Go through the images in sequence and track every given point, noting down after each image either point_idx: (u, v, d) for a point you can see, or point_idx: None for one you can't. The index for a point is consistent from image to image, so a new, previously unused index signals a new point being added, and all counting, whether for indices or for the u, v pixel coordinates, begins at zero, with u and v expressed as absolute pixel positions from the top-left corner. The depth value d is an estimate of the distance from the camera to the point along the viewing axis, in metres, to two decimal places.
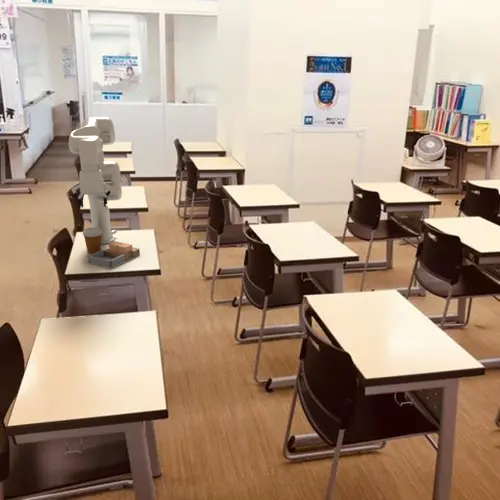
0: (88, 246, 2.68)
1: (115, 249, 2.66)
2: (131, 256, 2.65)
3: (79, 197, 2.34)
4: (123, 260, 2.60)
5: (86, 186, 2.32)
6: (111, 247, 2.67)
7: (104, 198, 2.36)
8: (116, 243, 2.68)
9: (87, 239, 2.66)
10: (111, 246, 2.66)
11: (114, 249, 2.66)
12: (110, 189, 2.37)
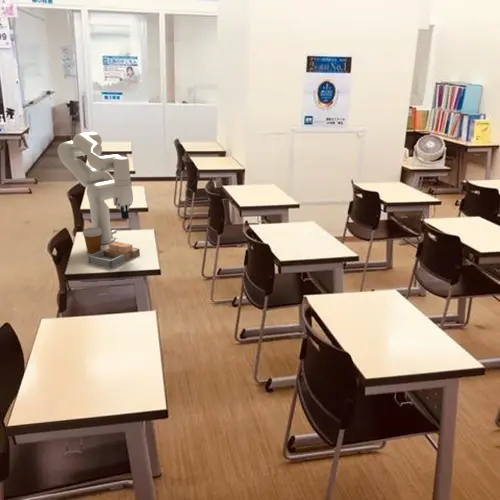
0: (88, 246, 2.68)
1: (115, 249, 2.66)
2: (131, 256, 2.65)
3: (124, 210, 2.68)
4: (123, 260, 2.60)
5: (124, 198, 2.64)
6: (111, 247, 2.67)
7: (127, 211, 2.69)
8: (116, 243, 2.68)
9: (87, 239, 2.66)
10: (111, 246, 2.66)
11: (114, 249, 2.66)
12: (130, 204, 2.72)
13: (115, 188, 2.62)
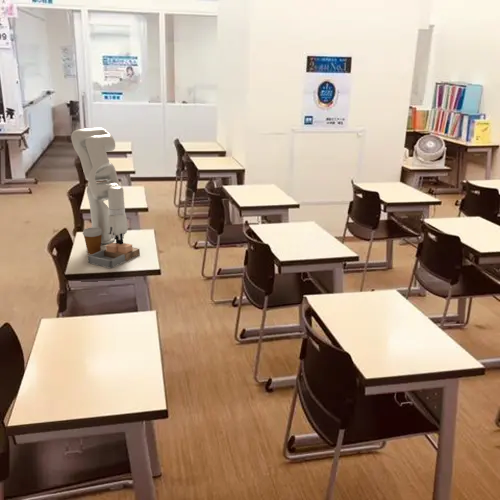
0: (88, 246, 2.68)
1: (112, 250, 2.64)
2: (131, 256, 2.65)
3: (119, 238, 2.67)
4: (123, 260, 2.60)
5: (118, 227, 2.64)
6: (108, 248, 2.65)
7: (122, 239, 2.69)
8: (113, 244, 2.66)
9: (87, 239, 2.66)
10: (108, 247, 2.65)
11: (111, 250, 2.64)
12: (125, 232, 2.72)
13: (110, 217, 2.61)
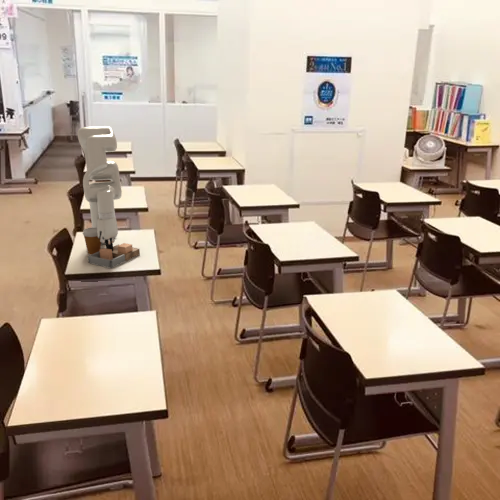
0: (88, 246, 2.68)
1: None
2: (131, 256, 2.65)
3: (109, 243, 2.61)
4: (123, 260, 2.60)
5: (108, 231, 2.58)
6: None
7: (112, 244, 2.63)
8: (104, 255, 2.60)
9: (87, 239, 2.66)
10: None
11: None
12: (115, 236, 2.65)
13: (99, 221, 2.55)
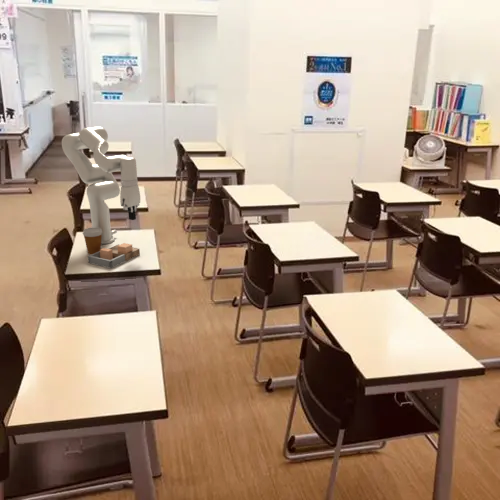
0: (88, 246, 2.68)
1: None
2: (131, 256, 2.65)
3: (132, 211, 2.65)
4: (123, 260, 2.60)
5: (131, 199, 2.61)
6: None
7: None
8: (104, 255, 2.60)
9: (87, 239, 2.66)
10: None
11: None
12: (137, 205, 2.69)
13: (122, 189, 2.59)
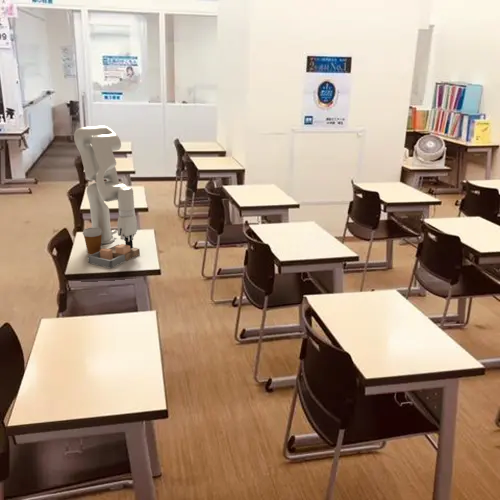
0: (88, 246, 2.68)
1: None
2: (131, 256, 2.65)
3: (129, 240, 2.66)
4: (123, 260, 2.60)
5: (128, 228, 2.62)
6: None
7: None
8: (104, 255, 2.60)
9: (87, 239, 2.66)
10: None
11: None
12: (134, 233, 2.70)
13: (119, 219, 2.60)
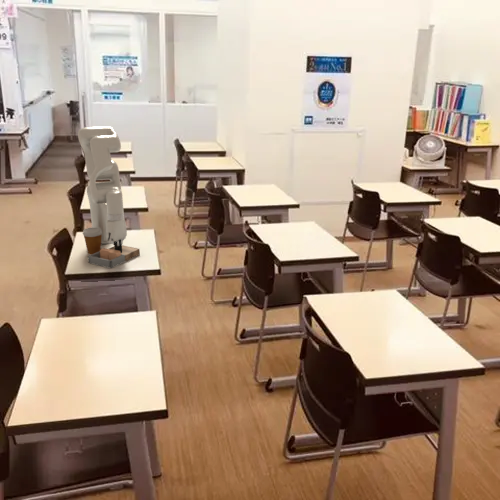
0: (88, 246, 2.68)
1: None
2: (131, 256, 2.65)
3: (118, 244, 2.59)
4: (123, 260, 2.60)
5: (117, 233, 2.56)
6: None
7: (121, 245, 2.60)
8: (104, 255, 2.60)
9: (87, 239, 2.66)
10: None
11: None
12: (124, 238, 2.63)
13: (108, 223, 2.53)
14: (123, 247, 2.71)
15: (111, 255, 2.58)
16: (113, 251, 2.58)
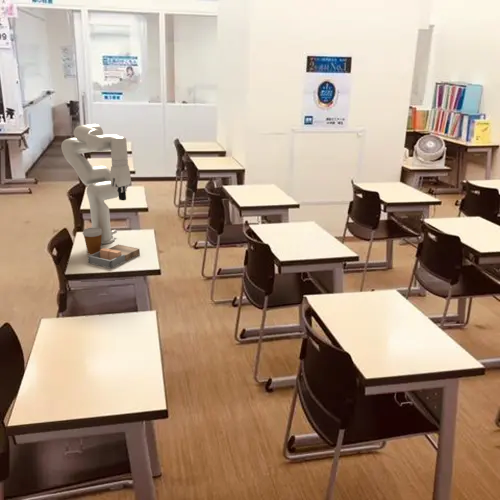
0: (88, 246, 2.68)
1: None
2: (131, 256, 2.65)
3: (122, 191, 2.62)
4: (123, 260, 2.60)
5: (121, 179, 2.59)
6: None
7: (125, 192, 2.64)
8: (104, 255, 2.60)
9: (87, 239, 2.66)
10: None
11: None
12: (128, 185, 2.66)
13: (112, 168, 2.56)
14: (123, 247, 2.71)
15: (112, 255, 2.58)
16: (114, 251, 2.59)
